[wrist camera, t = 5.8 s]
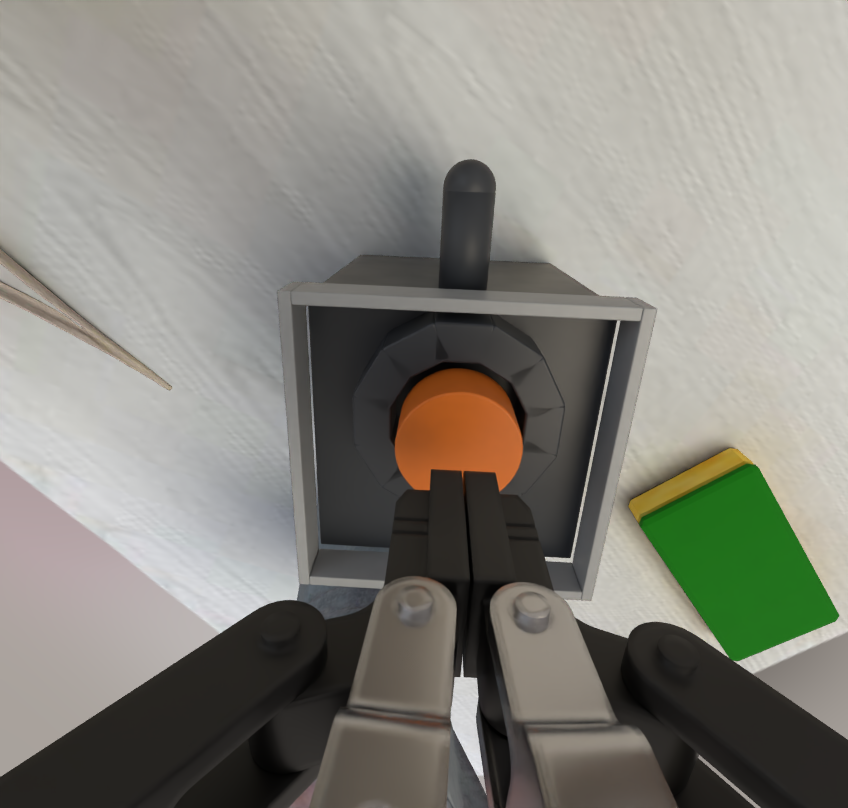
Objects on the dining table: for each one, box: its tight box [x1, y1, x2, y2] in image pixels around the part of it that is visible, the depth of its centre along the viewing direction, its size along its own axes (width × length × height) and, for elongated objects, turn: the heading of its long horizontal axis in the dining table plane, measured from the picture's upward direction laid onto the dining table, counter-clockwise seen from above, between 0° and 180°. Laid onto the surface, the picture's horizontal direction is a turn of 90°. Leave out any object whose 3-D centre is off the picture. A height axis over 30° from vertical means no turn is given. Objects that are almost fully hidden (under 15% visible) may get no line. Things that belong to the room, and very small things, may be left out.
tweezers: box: [0, 249, 172, 390], centre depth 27 cm, size 18×5×2 cm, turn 49°
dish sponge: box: [628, 448, 839, 661], centre depth 31 cm, size 7×14×2 cm, turn 36°
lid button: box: [395, 368, 523, 492], centre depth 15 cm, size 4×4×2 cm
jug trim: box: [277, 159, 657, 601], centre depth 20 cm, size 11×14×10 cm
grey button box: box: [308, 255, 617, 558], centre depth 22 cm, size 10×10×13 cm
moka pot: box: [289, 503, 489, 808], centre depth 24 cm, size 10×15×20 cm, turn 88°
